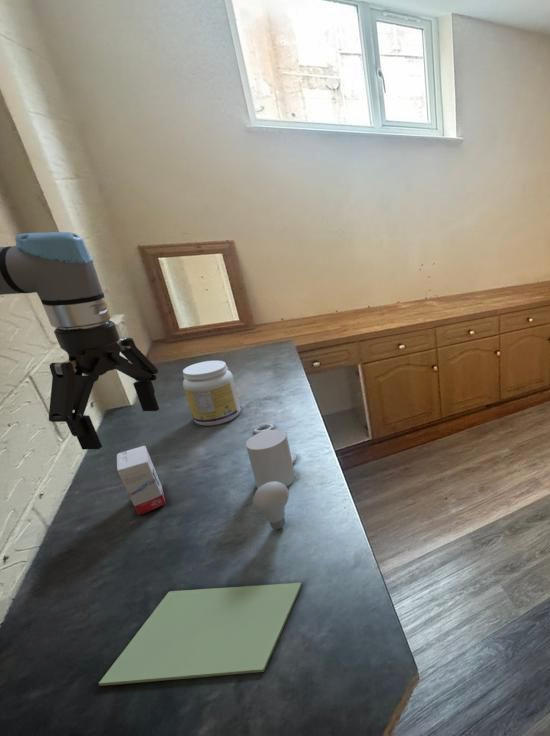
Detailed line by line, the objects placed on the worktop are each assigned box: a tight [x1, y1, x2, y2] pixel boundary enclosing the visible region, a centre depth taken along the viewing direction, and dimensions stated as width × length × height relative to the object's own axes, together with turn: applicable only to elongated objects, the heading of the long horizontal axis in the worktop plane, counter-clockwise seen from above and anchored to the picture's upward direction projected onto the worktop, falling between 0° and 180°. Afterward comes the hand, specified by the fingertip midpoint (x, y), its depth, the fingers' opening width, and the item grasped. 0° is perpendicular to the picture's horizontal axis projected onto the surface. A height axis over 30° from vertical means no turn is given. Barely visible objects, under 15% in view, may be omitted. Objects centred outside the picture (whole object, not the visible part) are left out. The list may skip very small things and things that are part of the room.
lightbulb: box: [252, 481, 290, 530], centre depth 81 cm, size 6×6×11 cm
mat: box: [98, 582, 303, 687], centre depth 63 cm, size 22×14×1 cm, turn 95°
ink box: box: [116, 445, 167, 516], centre depth 87 cm, size 9×5×12 cm, turn 44°
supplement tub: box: [182, 360, 242, 427], centre depth 120 cm, size 12×12×17 cm
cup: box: [245, 429, 296, 490], centre depth 94 cm, size 8×8×12 cm
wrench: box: [253, 423, 297, 464], centre depth 109 cm, size 25×2×5 cm
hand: (124, 427), depth 77 cm, fingers open, 13 cm apart
